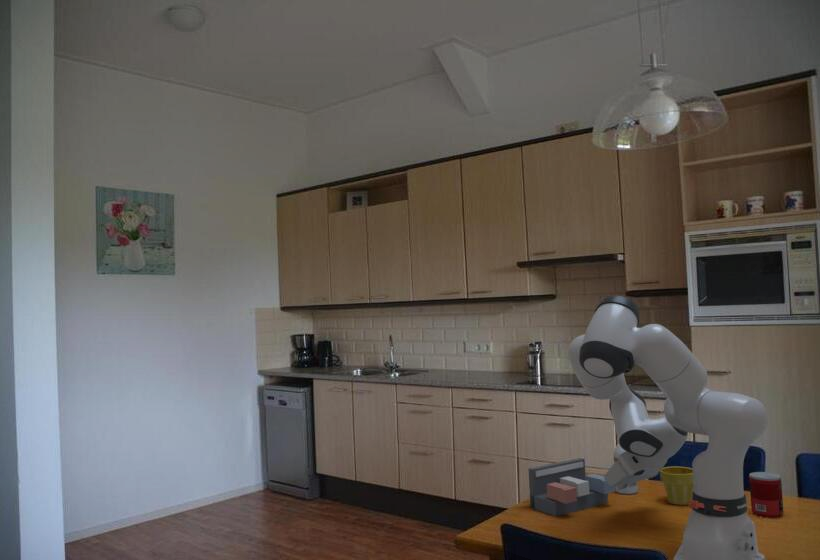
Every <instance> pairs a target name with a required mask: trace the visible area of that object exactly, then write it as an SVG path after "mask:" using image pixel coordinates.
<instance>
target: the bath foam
mask: <svg viewBox="0 0 820 560" xmlns="http://www.w3.org/2000/svg"><path fill="white" fill-rule="evenodd" d="M613 450H614V451H613V464H614V463H615V462H616V461H618V456H619V455H620V454H622V453H624V452H626V451H625V450H624V449H622V447H621V446H620V444H619V441H618V443H617V444H616V445H615V448H614V449H613ZM638 489H639V486H638V481H637V482H634V483H632V484H630V485H629V486H628V487H627V488H624V489H621V490H619V489H618V488H617V487H615V492H616V493H619V494H621V495H634V494H637V493H638V492H639V490H638Z"/></svg>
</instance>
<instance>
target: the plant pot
mask: <svg viewBox="0 0 820 560" xmlns="http://www.w3.org/2000/svg"><path fill="white" fill-rule="evenodd" d="M659 476H660V481H661V482H662V484H663V486H664V490H665V493H666V496H667V500H668V503H670V504H673V505H676V506H687V505H688V506H689V500H690V499H691V500H692V494H693V491H694V483H693V467H692V468H691V467H687V466H686V467H685V466H678V465H675V466H674V465H673V466H666V467H665V466H664V467H663V468H662V469H661V471H660V472H659Z"/></svg>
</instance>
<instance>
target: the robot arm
mask: <svg viewBox="0 0 820 560" xmlns="http://www.w3.org/2000/svg"><path fill="white" fill-rule="evenodd" d="M639 323H640V311H639V307H638V306H637V304H636V303H635V302H634V301H633V300H632V299H630V298H628V297H627V296H626V297H625V296H622V295H609V296H606V297H604V298H603V299H602V300H601V301H600V302H599V303H598V305H597V306H596V308H595V310H594V314H593V316H592V318H591V320H590V321H589V324H588V325H587V328H586V330H585V333H583V334H581V335H578V336H576V337H575V338H574V339H572V341H571V342H570V344H569V346H568V350H567V353H568V359H569V361H570V365H571V367H572V369H573V372H574V374H575V375H576V378H577V380H578V381H579V383H580V385H581V386H582V388H583V389H584V390H585V392H587V393H588V395H589V396H591V397H592V398H593V399H595V400H609V403H608V405H609V407H608V408H609V411H610V413H611V416H612V420H613V424H614V428H615V433H616V438H617V440H618V442H619V444H620V446H621V447H622V449H624V450H625V451H626V452H624V453H622V454H620V455H619V456H618V461H616V462H615V463H614V462H613V464H612V465H611V467H609V469H608V470H607V472H606V473H605V474H604V475H603V476H604V479H605V481H606V482H607V484H608V485H609V486H610V487H611V488H613V487H615V488H616V487H617V488H618V489H619V490H621V489H624V488H627V487H628V486H629V485H630V484H632V483H634V482H637V483H638V482H641V481H644V480H648V479H652V478H654V477H656V476H657V475H658V474H660V471H661V469H662V468H664V467H665V465H666V464H667V463H668V460H669V459H670V458H672V457H673V456H674V455H676V454H677V453H678V452H679V451H680V449H681V448H682V447H683V445H684V444H685V443H686V441H687V438H688V435H689V433H690V434H694V435H695V434H696V435H702V436H708V442H707V443H708V444H707V448H706V450H703V451H702V452H700V453H698V454H696V456H695V457H694V458H693V460H692V464H691V466H692V469H693V483H694V491H693V494H692V500H691V499H690V500H689V504H688V507H689V508H690V509H692V510H691V511H690V512H689V513H690V514H689V516H688V519H687V523H686V525H685V527H684V532H683V535H682V543H681V544H680V546H679V548H678V550H677V552H676V553H675V555H674V557H673V559H672V560H766V556H765V555H764V554H762V553H761V552H759V547H758V539H757V537H758V536H757V531H756V530H757V529H756V525H755V523H754V521H753V520H752V519H751V518H750V517H749V515H748V513H747V511H748V500H747V495H746V494H745V493H744V492H745V491H744V490H745V489H744V460H745V457H746V454H747V452H748V450H749V448H750V446H751V445H752V443H754V442H755V441H756V440H758V439H759V438H760V437H762V435H763V434H764V433H765V431H766V429H767V427H768V423H769V418H768V411H767V410H766V408H765V406H764V405H763V403H762V401H760V400H759V399H757V398H754V397H751V396H749V395H746V394H742V393H739V392H738V393H736V392H729V391H728V392H727V391H726V392H725V391H717V390H712V389H709V388H707V384H708V371H707V369H706V368H705V367H704V365H703V364H702V363H701V362H700V361H699V360H698V358H697V357H696V356H695V355H694V353H693V352H692V351H691V349H689V348H688V346H687V345H686V344H685V343H684V342H683V341H682V339H680V338H679V337H677V336H676V335H675V334H674V333H673V332H672V331H670V330H669V329H668V328H666V327H665V326H663V325H662V324H659V323H649V324H646V325H644V326H642V327H638V326H639ZM635 365H637V366H639V367H641V368H642V370H643V371H644V372H645V373H646V374H647V376H649V378H650V379H651V380H652V381H653V382H654V383H655V385H656V386H657V387H658V388H659V389H660V391H662V393H663V394H664V395H665V396H666V399H665V401H664V405H663V412H664V413H663V414H664V416H663V417H660V418H659V417H658V418H650V417H649V413H648V409H647V404H646V403H647V402H646V400H645V398H644V397H643V396H642V395H641V394H639V393H638V392H636V391H635V390H633V389H632V388H631V387H630V386H629V385H628V383H627V381H626V377H625V374H627V373H630V372H631V371H633V369H634V367H635Z"/></svg>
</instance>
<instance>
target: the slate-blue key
mask: <svg viewBox="0 0 820 560" xmlns="http://www.w3.org/2000/svg"><path fill="white" fill-rule="evenodd" d="M604 476H605V475H599V474H595V473H590V474H587V475H585V481H589V490H593V491H596V492H600V493H603V494H607V493H608V494H610V493H614V492H616V487H613V488H611V487H610V486H609V485H608V484H607V482H606V481H605V479H604Z"/></svg>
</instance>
